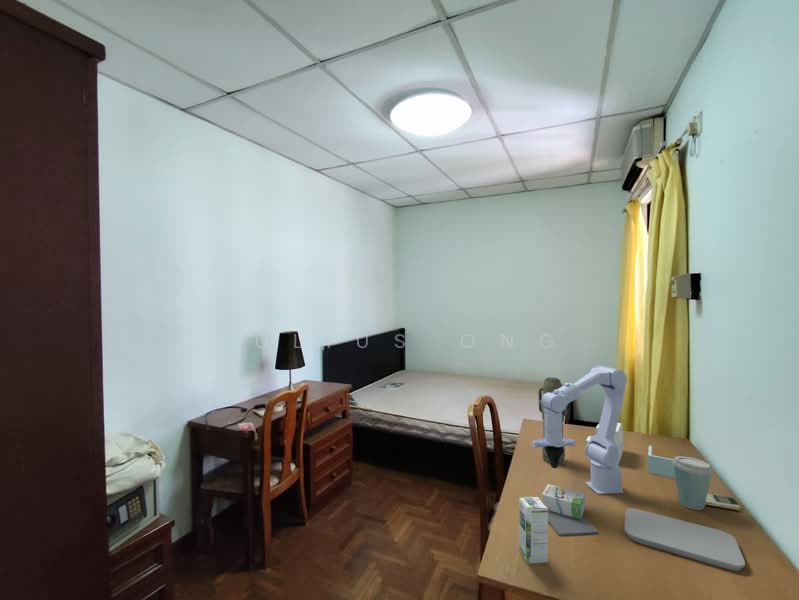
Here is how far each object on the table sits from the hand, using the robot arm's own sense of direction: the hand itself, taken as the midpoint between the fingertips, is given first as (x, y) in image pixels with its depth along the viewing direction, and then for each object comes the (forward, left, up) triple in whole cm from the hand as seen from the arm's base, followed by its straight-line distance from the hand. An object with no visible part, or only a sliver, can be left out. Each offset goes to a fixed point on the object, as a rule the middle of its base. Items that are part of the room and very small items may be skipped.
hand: (553, 467), depth 127 cm
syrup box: (+20, +28, -11) cm, 36 cm away
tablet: (-24, +25, -11) cm, 36 cm away
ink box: (-4, +12, -7) cm, 14 cm away
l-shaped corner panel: (-54, -15, -11) cm, 57 cm away
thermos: (-14, -28, -11) cm, 33 cm away
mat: (+3, +14, -10) cm, 18 cm away
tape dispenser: (-39, -31, -11) cm, 51 cm away
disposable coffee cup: (-43, +9, -11) cm, 45 cm away
